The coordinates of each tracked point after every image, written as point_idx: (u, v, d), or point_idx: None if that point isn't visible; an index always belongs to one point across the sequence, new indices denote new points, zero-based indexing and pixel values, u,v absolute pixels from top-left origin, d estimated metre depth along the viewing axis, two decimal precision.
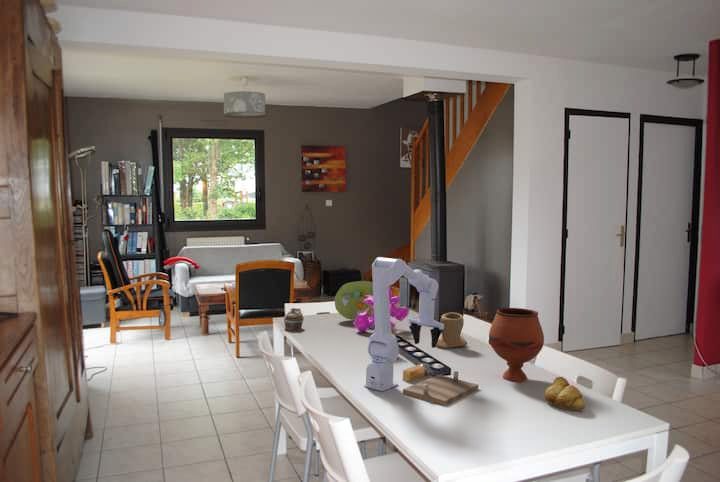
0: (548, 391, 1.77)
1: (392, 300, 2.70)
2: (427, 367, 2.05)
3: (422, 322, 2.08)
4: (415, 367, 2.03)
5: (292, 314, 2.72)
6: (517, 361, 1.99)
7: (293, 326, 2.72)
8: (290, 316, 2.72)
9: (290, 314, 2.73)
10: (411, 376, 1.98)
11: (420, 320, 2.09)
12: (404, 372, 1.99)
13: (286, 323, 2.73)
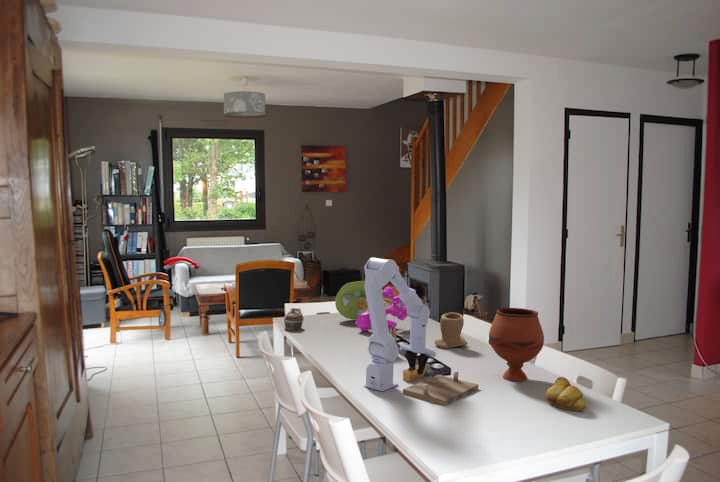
0: (549, 391, 1.77)
1: (394, 300, 2.71)
2: (427, 367, 2.05)
3: (413, 349, 2.00)
4: (415, 367, 2.03)
5: (292, 314, 2.72)
6: (517, 361, 1.99)
7: (293, 326, 2.72)
8: (290, 316, 2.72)
9: (290, 314, 2.73)
10: (411, 376, 1.98)
11: (411, 347, 2.01)
12: (404, 372, 1.99)
13: (286, 323, 2.73)
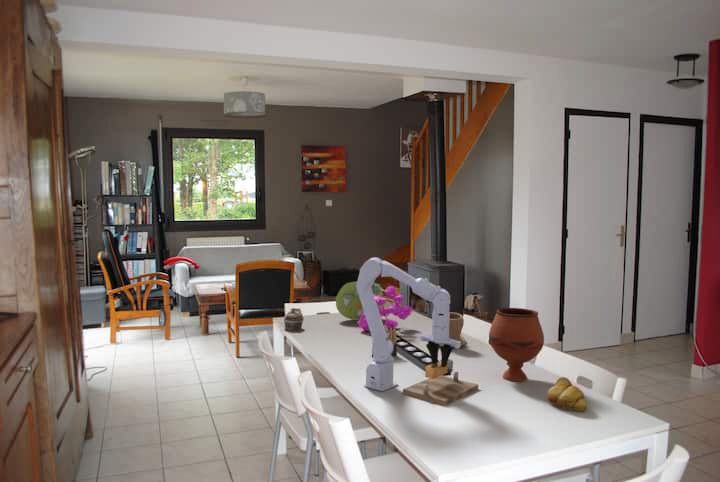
0: (550, 391, 1.77)
1: (396, 299, 2.72)
2: (450, 363, 1.91)
3: (436, 340, 1.86)
4: (438, 363, 1.89)
5: (292, 314, 2.72)
6: (517, 361, 1.99)
7: (293, 326, 2.72)
8: (290, 316, 2.72)
9: (290, 314, 2.73)
10: (434, 373, 1.84)
11: (434, 337, 1.87)
12: (427, 369, 1.85)
13: (286, 323, 2.73)
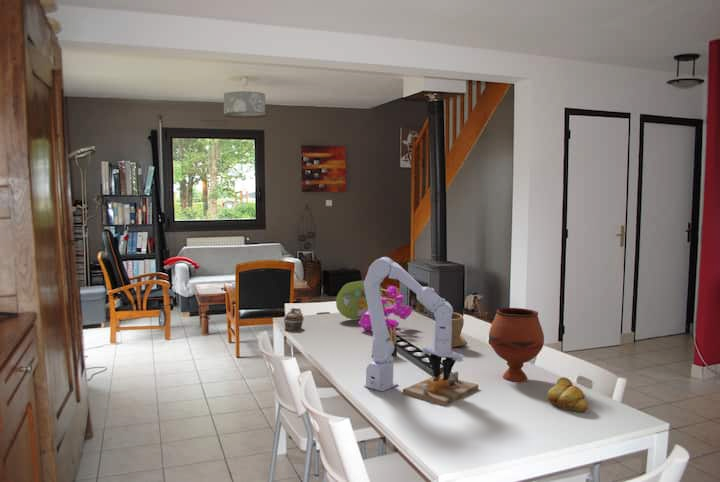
0: (551, 391, 1.77)
1: (397, 299, 2.73)
2: (452, 376, 1.89)
3: (438, 353, 1.85)
4: (440, 376, 1.88)
5: (292, 314, 2.72)
6: (517, 361, 1.99)
7: (293, 326, 2.72)
8: (290, 316, 2.72)
9: (290, 314, 2.73)
10: (436, 386, 1.83)
11: (436, 350, 1.86)
12: (428, 382, 1.83)
13: (286, 323, 2.73)
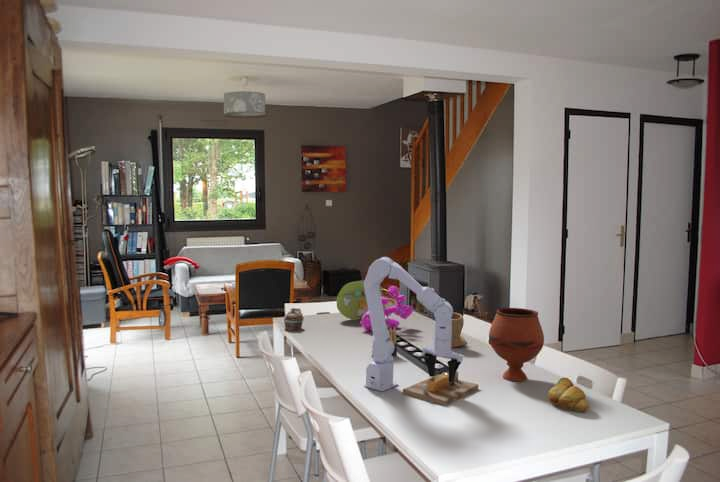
0: (551, 391, 1.77)
1: (398, 299, 2.74)
2: None
3: (438, 353, 1.85)
4: (440, 376, 1.88)
5: (292, 314, 2.72)
6: (517, 361, 1.99)
7: (293, 325, 2.72)
8: (290, 316, 2.72)
9: (290, 314, 2.73)
10: (436, 386, 1.83)
11: (436, 350, 1.86)
12: (428, 382, 1.83)
13: (286, 323, 2.73)
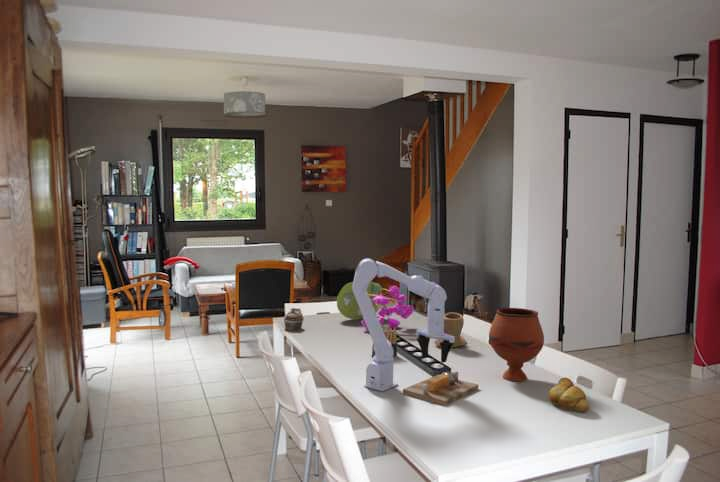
0: (552, 391, 1.77)
1: (399, 298, 2.75)
2: (452, 376, 1.89)
3: (431, 334, 1.90)
4: (440, 376, 1.88)
5: (292, 314, 2.72)
6: (517, 361, 1.99)
7: (293, 326, 2.72)
8: (290, 316, 2.72)
9: (290, 314, 2.73)
10: (436, 386, 1.83)
11: (429, 332, 1.90)
12: (428, 382, 1.83)
13: (286, 323, 2.73)
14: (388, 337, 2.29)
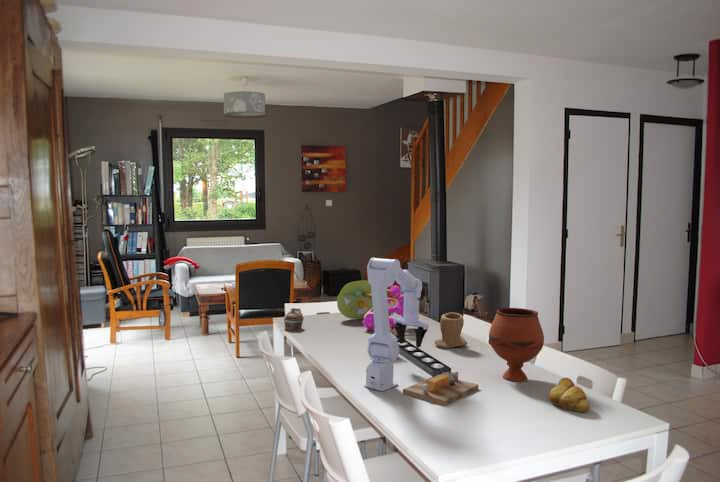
0: (552, 391, 1.77)
1: (400, 298, 2.75)
2: (452, 376, 1.89)
3: (407, 322, 2.08)
4: (440, 376, 1.88)
5: (292, 314, 2.72)
6: (517, 361, 1.99)
7: (293, 326, 2.72)
8: (290, 316, 2.72)
9: (290, 314, 2.73)
10: (436, 386, 1.83)
11: (405, 320, 2.09)
12: (428, 382, 1.83)
13: (286, 323, 2.73)
14: None
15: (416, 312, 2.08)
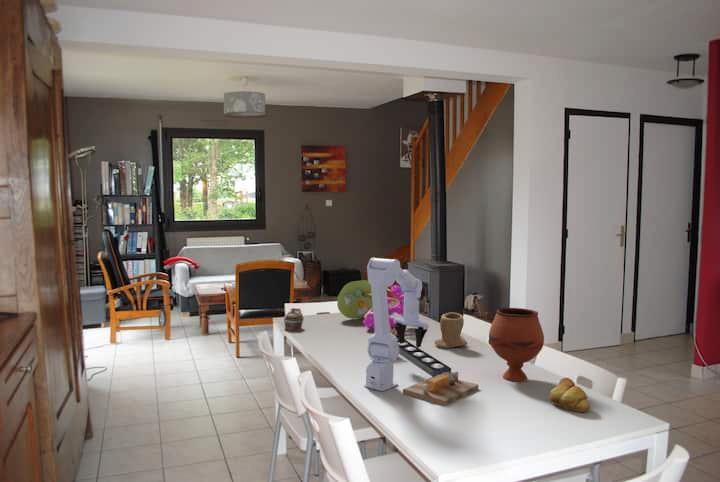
0: (553, 392, 1.77)
1: (401, 298, 2.76)
2: (452, 376, 1.89)
3: (407, 322, 2.08)
4: (440, 376, 1.88)
5: (292, 314, 2.72)
6: (517, 361, 1.99)
7: (293, 326, 2.72)
8: (290, 316, 2.72)
9: (290, 314, 2.73)
10: (436, 386, 1.83)
11: (405, 320, 2.09)
12: (428, 382, 1.83)
13: (286, 323, 2.73)
14: None
15: (416, 312, 2.08)
